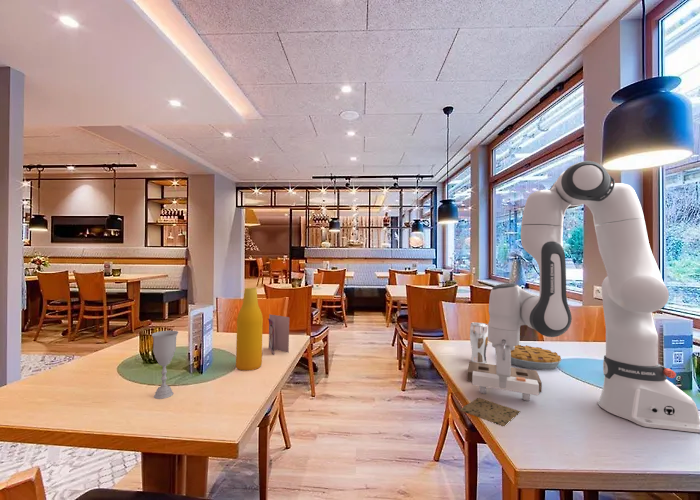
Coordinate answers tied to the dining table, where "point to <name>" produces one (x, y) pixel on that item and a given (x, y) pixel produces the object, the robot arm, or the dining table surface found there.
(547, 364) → the pie
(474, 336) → the beer glass
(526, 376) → the socket board
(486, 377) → the power strip
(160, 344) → the chalice
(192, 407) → the dining table surface
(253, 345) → the beer bottle
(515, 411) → the seeded crispbread
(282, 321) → the greeting card
